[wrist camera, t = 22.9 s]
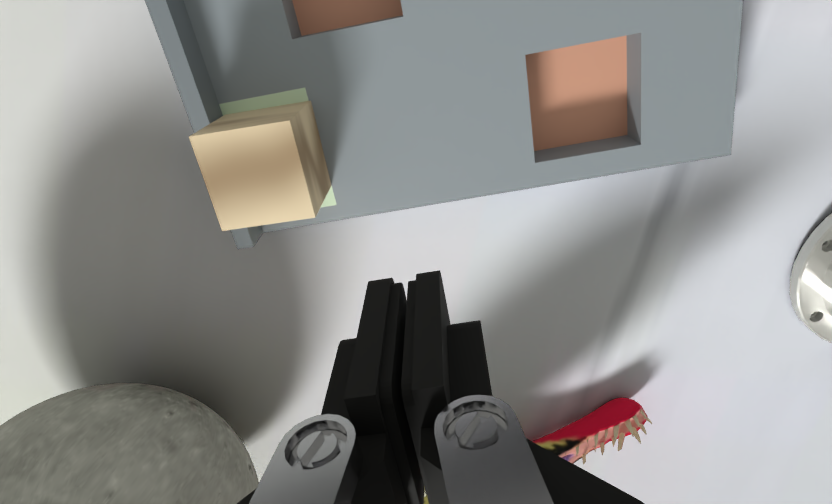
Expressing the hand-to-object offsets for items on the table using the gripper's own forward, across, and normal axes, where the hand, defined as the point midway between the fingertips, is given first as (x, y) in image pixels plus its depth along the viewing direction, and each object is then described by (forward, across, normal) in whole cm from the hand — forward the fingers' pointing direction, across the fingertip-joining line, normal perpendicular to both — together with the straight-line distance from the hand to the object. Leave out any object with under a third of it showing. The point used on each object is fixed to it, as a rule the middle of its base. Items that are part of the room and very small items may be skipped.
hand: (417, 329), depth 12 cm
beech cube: (+20, +8, 0) cm, 21 cm away
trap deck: (+22, -3, -4) cm, 23 cm away
